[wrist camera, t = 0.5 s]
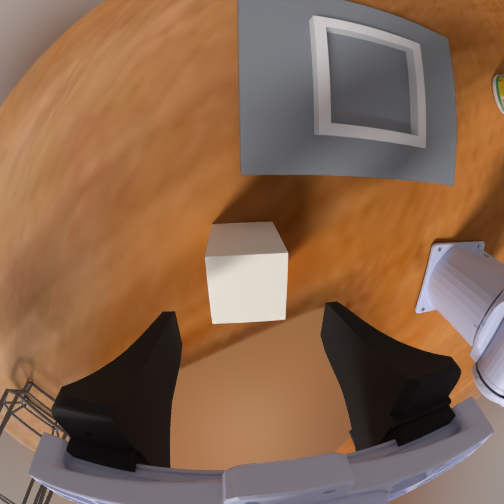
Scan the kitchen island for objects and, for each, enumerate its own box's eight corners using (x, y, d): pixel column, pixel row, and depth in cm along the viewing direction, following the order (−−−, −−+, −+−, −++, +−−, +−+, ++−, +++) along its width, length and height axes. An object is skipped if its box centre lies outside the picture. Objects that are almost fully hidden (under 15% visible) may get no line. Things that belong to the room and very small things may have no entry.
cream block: (272, 221, 20) (288, 252, 15) (272, 275, 22) (285, 319, 17) (211, 223, 20) (204, 256, 14) (216, 277, 22) (212, 323, 16)
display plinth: (434, 42, 14) (454, 36, 11) (439, 181, 20) (461, 188, 17) (237, 0, 13) (238, -18, 10) (240, 172, 19) (242, 177, 16)
